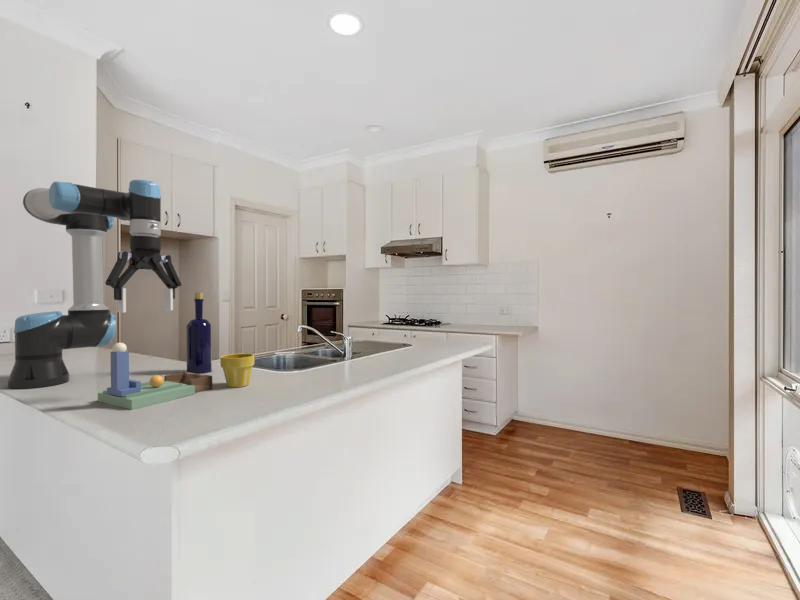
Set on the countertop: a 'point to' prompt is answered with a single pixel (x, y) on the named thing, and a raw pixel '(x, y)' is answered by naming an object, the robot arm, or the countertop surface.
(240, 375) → the plant pot
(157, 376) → the ball
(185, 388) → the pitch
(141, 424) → the countertop surface
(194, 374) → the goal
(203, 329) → the bottle
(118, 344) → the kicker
